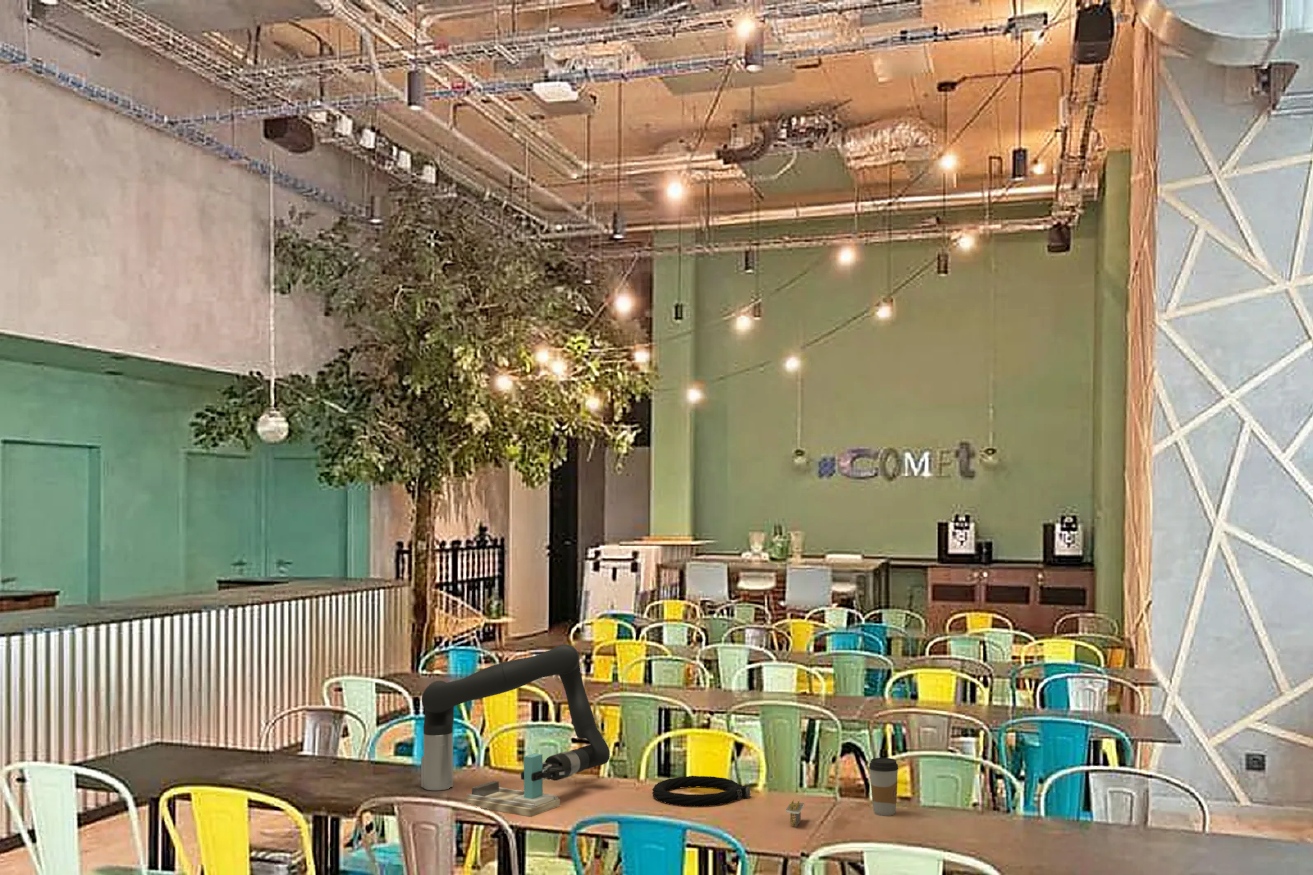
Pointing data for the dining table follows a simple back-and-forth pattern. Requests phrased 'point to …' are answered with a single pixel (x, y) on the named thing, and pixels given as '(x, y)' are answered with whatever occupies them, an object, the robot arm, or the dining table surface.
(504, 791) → the rail board
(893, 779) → the coffee cup
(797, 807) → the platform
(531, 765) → the post
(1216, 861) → the dining table surface
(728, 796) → the cable lock
